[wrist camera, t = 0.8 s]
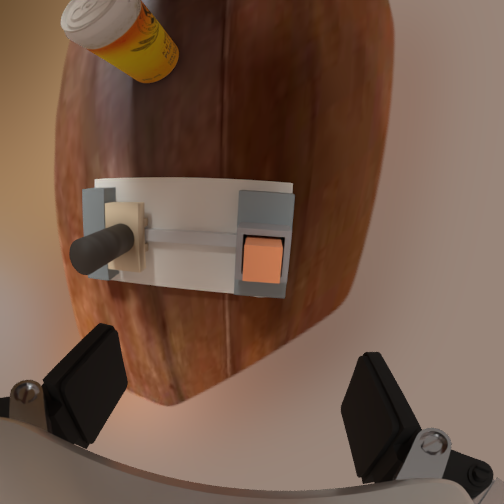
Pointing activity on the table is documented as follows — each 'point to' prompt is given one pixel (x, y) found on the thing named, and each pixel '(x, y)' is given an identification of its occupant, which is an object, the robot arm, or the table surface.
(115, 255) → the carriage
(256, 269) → the button
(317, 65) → the table surface
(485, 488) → the robot arm
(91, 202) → the rail base
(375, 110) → the table surface
